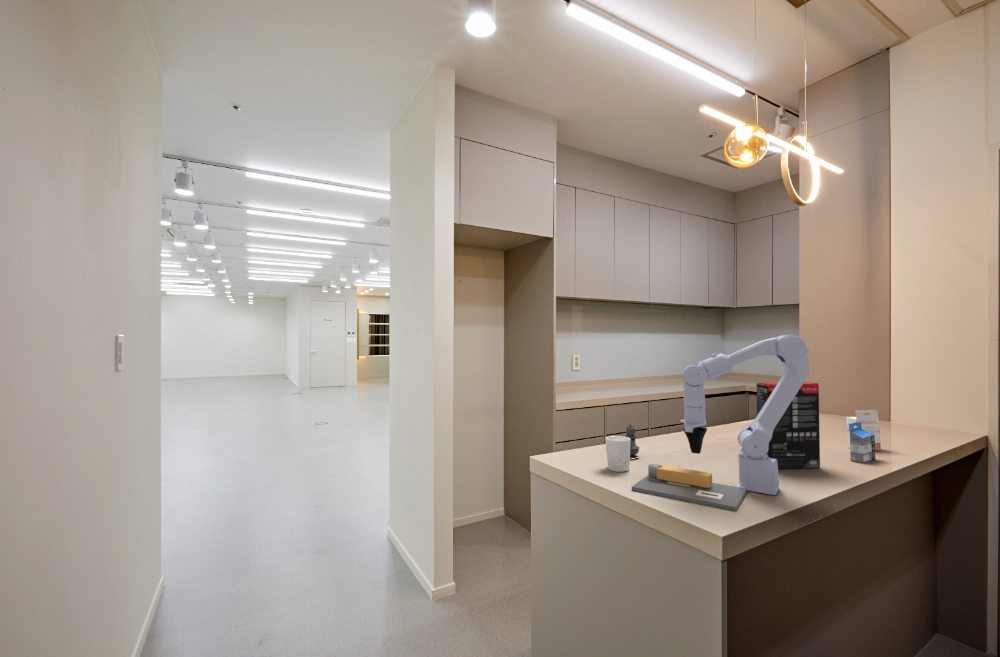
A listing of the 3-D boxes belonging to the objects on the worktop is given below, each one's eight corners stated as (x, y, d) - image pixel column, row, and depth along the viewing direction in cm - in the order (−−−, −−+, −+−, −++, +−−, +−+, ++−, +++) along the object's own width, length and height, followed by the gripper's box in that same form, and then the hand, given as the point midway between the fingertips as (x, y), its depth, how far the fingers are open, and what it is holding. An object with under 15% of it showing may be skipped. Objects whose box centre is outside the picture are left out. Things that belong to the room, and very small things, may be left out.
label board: (747, 492, 118) (747, 487, 118) (736, 511, 105) (735, 505, 105) (651, 475, 134) (651, 471, 134) (631, 490, 121) (631, 485, 121)
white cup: (622, 464, 146) (621, 434, 146) (636, 471, 139) (635, 439, 139) (601, 467, 144) (600, 436, 144) (615, 473, 136) (614, 441, 137)
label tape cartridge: (864, 463, 142) (862, 425, 142) (849, 461, 145) (848, 424, 145) (876, 459, 146) (874, 422, 146) (862, 457, 149) (860, 421, 150)
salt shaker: (637, 460, 151) (636, 425, 151) (620, 458, 154) (619, 424, 154) (641, 456, 156) (640, 422, 156) (625, 454, 159) (624, 421, 159)
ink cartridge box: (869, 447, 162) (867, 407, 162) (881, 450, 157) (879, 410, 157) (846, 448, 162) (845, 408, 162) (857, 451, 157) (856, 410, 157)
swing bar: (712, 483, 120) (712, 473, 120) (709, 487, 117) (708, 476, 117) (651, 473, 131) (650, 463, 131) (646, 476, 128) (646, 466, 128)
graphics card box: (807, 463, 144) (804, 380, 145) (823, 469, 137) (819, 382, 138) (756, 464, 143) (753, 381, 144) (770, 470, 136) (767, 383, 137)
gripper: (687, 402, 135) (688, 446, 135) (672, 408, 124) (674, 456, 123) (711, 403, 131) (713, 449, 130) (699, 410, 119) (700, 460, 119)
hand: (695, 452), depth 127 cm, fingers closed
